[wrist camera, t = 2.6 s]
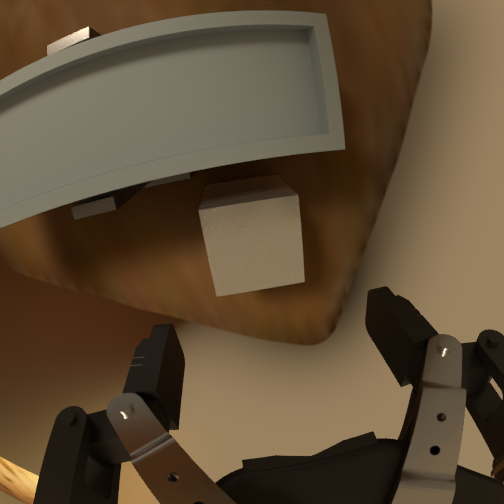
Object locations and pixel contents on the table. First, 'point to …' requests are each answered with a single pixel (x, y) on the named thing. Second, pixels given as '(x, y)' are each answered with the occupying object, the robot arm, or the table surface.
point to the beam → (166, 105)
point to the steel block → (252, 234)
